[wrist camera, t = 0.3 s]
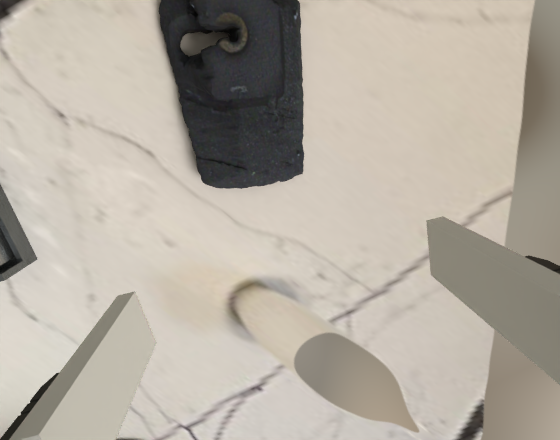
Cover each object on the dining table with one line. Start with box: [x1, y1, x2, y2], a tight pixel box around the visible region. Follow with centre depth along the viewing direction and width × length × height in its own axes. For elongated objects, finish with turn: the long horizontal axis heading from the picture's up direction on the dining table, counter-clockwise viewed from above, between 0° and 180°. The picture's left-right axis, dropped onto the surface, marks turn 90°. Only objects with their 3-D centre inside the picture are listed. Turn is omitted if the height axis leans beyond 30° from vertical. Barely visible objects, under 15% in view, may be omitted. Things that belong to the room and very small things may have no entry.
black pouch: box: [159, 0, 304, 189], centre depth 35 cm, size 15×22×5 cm
